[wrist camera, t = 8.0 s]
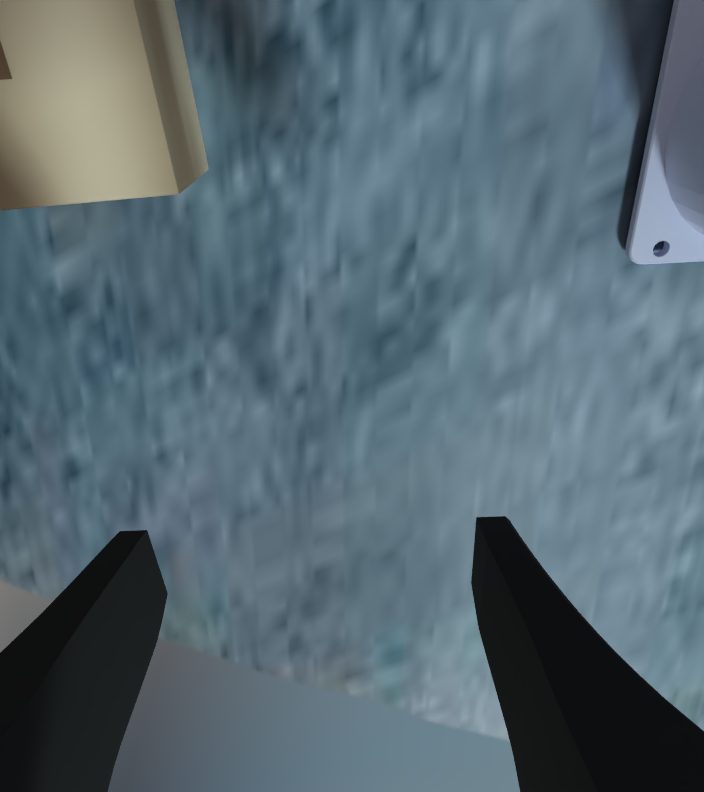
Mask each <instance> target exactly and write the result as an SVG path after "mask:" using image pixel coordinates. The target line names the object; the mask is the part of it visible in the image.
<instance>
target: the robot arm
mask: <svg viewBox="0 0 704 792" xmlns="http://www.w3.org/2000/svg"><path fill="white" fill-rule="evenodd" d="M660 241H664V246H663V248H662V249H661V250H660V251H659V252H657V253H653V248H654V246H655V245H656V244H657V243H658V242H660ZM626 255H627V257H628V258H629V259H630V260H632V261H633V262H635V263H636V264H659V263H678V262H698V261H704V0H674V2H673V7H672V12H671V17H670V23H669V28H668V33H667V38H666V43H665V48H664V53H663V58H662V64H661V69H660V74H659V79H658V84H657V89H656V94H655V99H654V104H653V110H652V115H651V120H650V125H649V130H648V135H647V140H646V145H645V150H644V156H643V161H642V166H641V171H640V176H639V181H638V186H637V191H636V197H635V202H634V207H633V212H632V217H631V222H630V227H629V232H628V237H627V243H626ZM471 584H472V590H473V596H474V602H475V609H476V615H477V620H478V626H479V631H480V634H481V638H482V642H483V645H484V649H485V653H486V656H487V660H488V663H489V667H490V671H491V674H492V678H493V681H494V685H495V688H496V692H497V695H498V699H499V702H500V706H501V710H502V713H503V717H504V720H505V724H506V727H507V731H508V735H509V739H510V743H511V747H512V751H513V756H514V761H515V766H516V771H517V776H518V782H519V787H520V792H704V731H703V730H702V729H700V728H699V727H698V726H697V725H696V724H694V723H693V722H692V721H691V720H690V719H688V718H687V717H686V716H685V715H684V714H682V713H681V712H680V711H679V710H678V709H676V708H675V707H674V706H673V705H672V704H671V703H669V702H668V701H667V700H666V699H665V698H664V697H662V696H661V695H660V694H659V693H658V692H657V691H656V690H655V689H654V688H653V687H652V686H651V685H649V684H648V683H647V682H646V681H645V680H644V679H643V678H642V677H641V676H640V675H639V674H638V673H637V672H636V671H634V670H633V669H632V668H631V667H630V666H629V665H628V664H627V663H626V662H625V661H624V660H623V659H622V658H621V657H620V656H619V655H618V654H617V653H616V652H615V651H614V650H613V649H612V648H611V647H610V646H609V645H608V643H607V642H606V641H605V640H604V639H603V638H602V637H601V636H600V635H599V634H598V633H597V632H596V631H595V630H594V628H593V627H592V626H591V625H590V624H589V623H588V622H587V621H586V620H585V618H584V617H583V616H582V615H581V614H580V613H579V612H578V610H577V609H576V608H575V607H574V606H573V605H572V603H571V602H570V601H569V600H568V599H567V597H566V596H565V595H564V594H563V592H562V591H561V590H560V589H559V588H558V586H557V585H556V584H555V583H554V581H553V580H552V579H551V578H550V576H549V575H548V574H547V572H546V571H545V570H544V569H543V567H542V566H541V565H540V563H539V562H538V561H537V559H536V558H535V557H534V555H533V554H532V552H531V551H530V550H529V548H528V547H527V545H526V544H525V543H524V541H523V540H522V538H521V537H520V535H519V534H518V532H517V531H516V529H515V528H514V526H513V525H512V523H511V522H510V520H509V519H507V518H506V517H505V516H502V517H477V518H476V531H475V543H474V556H473V569H472V581H471ZM167 594H168V593H167V590H166V587H165V584H164V581H163V578H162V575H161V572H160V569H159V566H158V563H157V560H156V556H155V553H154V550H153V547H152V544H151V541H150V538H149V535H148V532H147V530H141V531H120V532H119V533H118V534H117V535H116V536H115V537H114V538H113V539H112V540H111V541H110V542H109V543H108V544H107V545H106V546H105V547H104V548H103V549H102V550H101V552H100V553H99V554H98V555H97V556H96V557H95V558H94V559H93V560H92V561H91V562H90V563H89V564H88V565H87V567H86V568H85V569H84V570H83V571H82V572H81V573H80V574H79V575H78V576H77V577H76V578H75V579H74V580H73V581H72V582H71V584H70V585H69V586H68V587H67V588H66V589H65V590H64V591H63V592H62V593H61V594H60V595H59V596H58V597H57V598H56V599H55V600H54V601H53V602H52V603H51V604H50V605H49V606H48V607H47V608H46V610H44V611H43V613H41V614H40V615H39V616H38V617H37V618H36V619H35V620H34V621H33V622H32V623H31V624H30V625H29V626H28V627H27V628H26V629H25V630H24V631H23V632H22V633H21V634H20V635H19V636H18V637H16V638H15V639H14V641H12V642H11V643H10V644H9V645H8V646H7V647H6V648H5V649H4V650H3V651H2V652H1V653H0V792H107V791H108V787H109V784H110V780H111V776H112V772H113V768H114V765H115V761H116V758H117V755H118V752H119V748H120V745H121V742H122V739H123V737H124V734H125V731H126V728H127V725H128V723H129V719H130V717H131V714H132V711H133V709H134V705H135V703H136V700H137V697H138V694H139V692H140V689H141V686H142V683H143V680H144V677H145V675H146V672H147V669H148V666H149V663H150V660H151V657H152V655H153V652H154V649H155V646H156V643H157V640H158V636H159V631H160V627H161V623H162V618H163V614H164V609H165V604H166V599H167Z"/></svg>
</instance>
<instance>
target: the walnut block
mask: <svg viewBox="0 0 704 792" xmlns="http://www.w3.org/2000/svg"><path fill="white" fill-rule="evenodd" d="M5 79H12V76H11V73H10V70H9V67H8V63H7V60H6V57H5V54H4V51H3V48H2V45H1V41H0V80H5Z"/></svg>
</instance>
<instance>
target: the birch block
mask: <svg viewBox="0 0 704 792" xmlns="http://www.w3.org/2000/svg"><path fill="white" fill-rule="evenodd" d="M0 41H1V45H2V48H3V51H4V54H5V57H6V60H7V63H8V67H9V70H10V73H11V76H12V79H5V80H0V210H10V209H21V208H32V207H43V206H54V205H65V204H75V203H86V202H97V201H108V200H119V199H130V198H141V197H152V196H163V195H174V194H179V193H181V192H182V191H183V190H184V189H186V188H187V187H188V186H189V185H190V184H192V183H193V182H194V181H195V180H196V179H198V178H199V177H200V176H201V175H203V174H204V173H205V172H206V171H207V170H209V168H208V163H207V159H206V154H205V149H204V144H203V139H202V134H201V129H200V124H199V119H198V115H197V110H196V105H195V100H194V95H193V90H192V85H191V80H190V75H189V71H188V66H187V61H186V56H185V51H184V46H183V41H182V36H181V31H180V26H179V22H178V17H177V12H176V7H175V2H174V0H0Z"/></svg>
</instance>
